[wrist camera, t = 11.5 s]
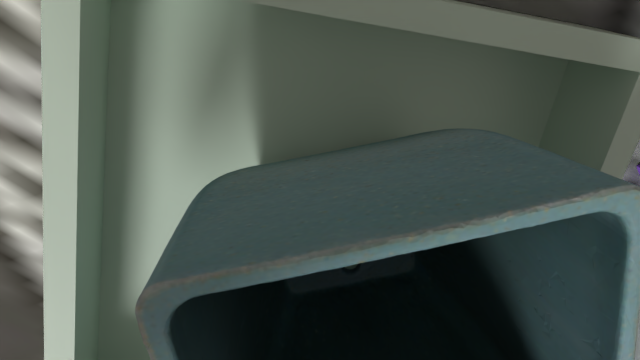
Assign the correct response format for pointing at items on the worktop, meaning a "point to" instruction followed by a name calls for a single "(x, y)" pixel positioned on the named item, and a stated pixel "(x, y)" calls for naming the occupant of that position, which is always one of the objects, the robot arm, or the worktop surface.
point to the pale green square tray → (278, 116)
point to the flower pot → (403, 258)
